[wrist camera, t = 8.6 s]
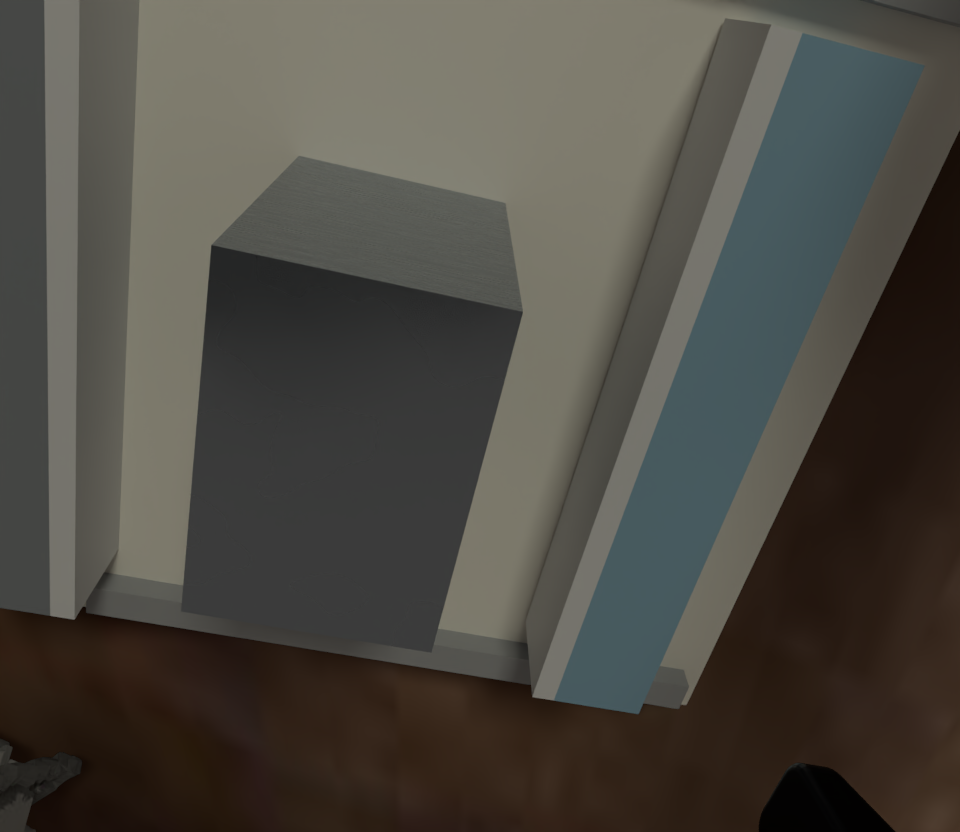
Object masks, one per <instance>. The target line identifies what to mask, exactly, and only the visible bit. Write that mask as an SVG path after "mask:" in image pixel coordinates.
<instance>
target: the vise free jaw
mask: <svg viewBox="0 0 960 832" xmlns="http://www.w3.org/2000/svg"><path fill="white" fill-rule="evenodd" d="M924 67H925V65H921V64H918V63H914V62H910V61H906V60H902V59H899V58H895V57H891V56H887V55H884V54H880V53H876V52H872V51H869V50H865V49H861V48H857V47H854V46H850V45H846V44H842V43H838V42H835V41H831V40H827V39H823V38H820V37H816V36H812V35H808V34H805V33H801V32H797V31H793V30H790V29H786V28H782V27H778V26H774V25H770V24H763V23H756V22H749V21H742V20H735V19H727V18H725V20H724V23H723V26H722V29H721V32H720V35H719V39H718V42H717V45H716V48H715V51H714V54H713V57H712V60H711V63H710V66H709V69H708V72H707V75H706V78H705V81H704V84H703V87H702V90H701V93H700V96H699V99H698V102H697V105H696V108H695V111H694V114H693V117H692V120H691V123H690V126H689V129H688V132H687V135H686V138H685V141H684V144H683V147H682V150H681V153H680V156H679V159H678V162H677V165H676V168H675V171H674V174H673V177H672V180H671V183H670V186H669V189H668V192H667V196H666V199H665V202H664V205H663V208H662V211H661V214H660V217H659V220H658V223H657V226H656V229H655V232H654V235H653V238H652V241H651V244H650V247H649V250H648V253H647V256H646V259H645V262H644V265H643V268H642V271H641V274H640V277H639V280H638V283H637V286H636V289H635V292H634V295H633V298H632V301H631V304H630V307H629V310H628V313H627V316H626V319H625V322H624V325H623V328H622V331H621V334H620V337H619V340H618V343H617V346H616V349H615V352H614V356H613V359H612V362H611V365H610V368H609V371H608V374H607V377H606V380H605V383H604V386H603V389H602V392H601V395H600V398H599V401H598V404H597V407H596V410H595V413H594V416H593V419H592V422H591V425H590V428H589V431H588V434H587V437H586V440H585V443H584V446H583V449H582V452H581V455H580V458H579V461H578V464H577V467H576V470H575V473H574V476H573V479H572V482H571V485H570V488H569V491H568V494H567V497H566V500H565V503H564V506H563V509H562V513H561V516H560V519H559V522H558V525H557V528H556V531H555V534H554V537H553V540H552V543H551V546H550V549H549V552H548V555H547V558H546V561H545V564H544V567H543V570H542V573H541V576H540V579H539V582H538V585H537V588H536V591H535V594H534V597H533V600H532V603H531V606H530V609H529V612H528V615H527V618H526V632H527V643H528V654H529V666H530V677H531V688H532V697H535V698H541V699H548V700H554V701H560V702H566V703H572V704H579V705H585V706H591V707H597V708H603V709H610V710H616V711H622V712H628V713H635V714H639V712H640V710H641V707H642V705H643V703H644V701H645V698H646V696H647V694H648V692H649V689H650V687H651V685H652V683H653V680H654V678H655V676H656V673H657V671H658V669H659V667H660V664H661V662H662V660H663V658H664V655H665V653H666V651H667V649H668V646H669V644H670V642H671V639H672V637H673V635H674V633H675V630H676V628H677V626H678V624H679V621H680V619H681V617H682V615H683V612H684V610H685V608H686V606H687V603H688V601H689V599H690V596H691V594H692V592H693V590H694V587H695V585H696V583H697V581H698V578H699V576H700V574H701V572H702V569H703V567H704V565H705V563H706V560H707V558H708V556H709V553H710V551H711V549H712V547H713V544H714V542H715V540H716V538H717V535H718V533H719V531H720V529H721V526H722V524H723V522H724V519H725V517H726V515H727V513H728V510H729V508H730V506H731V504H732V501H733V499H734V497H735V495H736V492H737V490H738V488H739V486H740V483H741V481H742V479H743V476H744V474H745V472H746V470H747V467H748V465H749V463H750V461H751V458H752V456H753V454H754V452H755V449H756V447H757V445H758V443H759V440H760V438H761V436H762V433H763V431H764V429H765V427H766V424H767V422H768V420H769V418H770V415H771V413H772V411H773V409H774V406H775V404H776V402H777V399H778V397H779V395H780V393H781V390H782V388H783V386H784V384H785V381H786V379H787V377H788V375H789V372H790V370H791V368H792V366H793V363H794V361H795V359H796V356H797V354H798V352H799V350H800V347H801V345H802V343H803V341H804V338H805V336H806V334H807V332H808V329H809V327H810V325H811V323H812V320H813V318H814V316H815V313H816V311H817V309H818V307H819V304H820V302H821V300H822V298H823V295H824V293H825V291H826V289H827V286H828V284H829V282H830V279H831V277H832V275H833V273H834V270H835V268H836V266H837V264H838V261H839V259H840V257H841V255H842V252H843V250H844V248H845V246H846V243H847V241H848V239H849V236H850V234H851V232H852V230H853V227H854V225H855V223H856V221H857V218H858V216H859V214H860V212H861V209H862V207H863V205H864V203H865V200H866V198H867V196H868V193H869V191H870V189H871V187H872V184H873V182H874V180H875V178H876V175H877V173H878V171H879V169H880V166H881V164H882V162H883V160H884V157H885V155H886V153H887V150H888V148H889V146H890V144H891V141H892V139H893V137H894V135H895V132H896V130H897V128H898V126H899V123H900V121H901V119H902V116H903V114H904V112H905V110H906V107H907V105H908V103H909V101H910V98H911V96H912V94H913V92H914V89H915V87H916V85H917V83H918V80H919V78H920V76H921V73H922V71H923V69H924Z"/></svg>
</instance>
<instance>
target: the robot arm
mask: <svg viewBox="0 0 960 832" xmlns="http://www.w3.org/2000/svg"><path fill="white" fill-rule="evenodd" d="M759 832H895V831H894V830H893V829H892V828H891V827H890V826H889V825H888V824H887V823H886V822H885V821H884V820H883V819H882V817H881V816H880V815H879V814H878V813H877V812H876V811H875V810H874V809H873V808H872V807H871V806H870V805H869V804H868V803H867V802H866V801H865V800H864V799H863V798H862V797H861V796H860V795H859V794H858V793H857V792H856V791H855V790H854V789H853V788H852V787H851V786H850V785H849V784H848V783H847V781H846V780H845V779H844V778H843V777H842V776H841V775H839V774H838V773H837V772H836V771H834V770H833V769H830V768H828V767H822V766H816V765H810V764H804V763H795V764H793V765H792V766H790V767H789V768H788V769H787V770H786V772H785V773H784V775H783V777H782V778H781V780H780V782H779V783H778V785H777V787H776V789H775V790H774V792H773V794H772V795H771V797H770V799H769V800H768V802H767V804H766V805H765V807H764V809H763V811H762V813H761V817H760V821H759Z"/></svg>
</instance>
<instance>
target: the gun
mask: <svg viewBox="0 0 960 832" xmlns="http://www.w3.org/2000/svg"><path fill="white" fill-rule="evenodd" d="M9 745H10V743H9V742H7V741H5V740H2V739H0V832H36V830H34V829H31V828H30V826H27V825H26V822H27V819H28V815H29V811H30V808H31V805H33V804H34V803H36V802H37V801H39V800H40V799H42V798H44V797H45V796H47V795H48V794H50V793H52V792H53V791H55V790H56V789H57V788H58V787H59V786H60V785H61V784H62V783H63V782H64V781H66V780H68V779H70V778H72V777H74V776H76V775H78V774H80V772H81V766H82V761H81V759H79V758H77V757H75V756H73V755H72V756H70V755H68V754H66V753H64V752H63V753H61V752H59V753H58V754H56V755H55V756H54V757H53V758H49V757H41V758H37V759H34V760H31V761H28V762H26V763H20V762H16V761H14V760H12V759H11V760H9V758H10V755H11V752H12V748H13V747H11V746H9Z"/></svg>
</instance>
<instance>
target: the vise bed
mask: <svg viewBox="0 0 960 832" xmlns="http://www.w3.org/2000/svg"><path fill="white" fill-rule="evenodd" d="M725 18H727V19H735V20H742V21H749V22H756V23H763V24H770V25H774V26H778V27H782V28H786V29H790V30H793V31H797V32H801V33H805V34H808V35H812V36H816V37H820V38H823V39H827V40H831V41H835V42H838V43H842V44H846V45H850V46H854V47H857V48H861V49H865V50H869V51H872V52H876V53H880V54H884V55H887V56H891V57H895V58H899V59H902V60H906V61H910V62H914V63H918V64H921V65H925V67H924V69H923V71H922V73H921V76H920V78H919V80H918V83H917V85H916V87H915V89H914V92H913V94H912V96H911V98H910V101H909V103H908V105H907V107H906V110H905V112H904V114H903V116H902V119H901V121H900V123H899V126H898V128H897V130H896V132H895V135H894V137H893V139H892V141H891V144H890V146H889V148H888V150H887V153H886V155H885V157H884V160H883V162H882V164H881V166H880V169H879V171H878V173H877V175H876V178H875V180H874V182H873V184H872V187H871V189H870V191H869V193H868V196H867V198H866V200H865V203H864V205H863V207H862V209H861V212H860V214H859V216H858V218H857V221H856V223H855V225H854V227H853V230H852V232H851V234H850V236H849V239H848V241H847V243H846V246H845V248H844V250H843V252H842V255H841V257H840V259H839V261H838V264H837V266H836V268H835V270H834V273H833V275H832V277H831V279H830V282H829V284H828V286H827V289H826V291H825V293H824V295H823V298H822V300H821V302H820V304H819V307H818V309H817V311H816V313H815V316H814V318H813V320H812V323H811V325H810V327H809V329H808V332H807V334H806V336H805V338H804V341H803V343H802V345H801V347H800V350H799V352H798V354H797V356H796V359H795V361H794V363H793V366H792V368H791V370H790V372H789V375H788V377H787V379H786V381H785V384H784V386H783V388H782V390H781V393H780V395H779V397H778V399H777V402H776V404H775V406H774V409H773V411H772V413H771V415H770V418H769V420H768V422H767V424H766V427H765V429H764V431H763V433H762V436H761V438H760V440H759V443H758V445H757V447H756V449H755V452H754V454H753V456H752V458H751V461H750V463H749V465H748V467H747V470H746V472H745V474H744V476H743V479H742V481H741V483H740V486H739V488H738V490H737V492H736V495H735V497H734V499H733V501H732V504H731V506H730V508H729V510H728V513H727V515H726V517H725V519H724V522H723V524H722V526H721V529H720V531H719V533H718V535H717V538H716V540H715V542H714V544H713V547H712V549H711V551H710V553H709V556H708V558H707V560H706V563H705V565H704V567H703V569H702V572H701V574H700V576H699V578H698V581H697V583H696V585H695V587H694V590H693V592H692V594H691V596H690V599H689V601H688V603H687V606H686V608H685V610H684V612H683V615H682V617H681V619H680V621H679V624H678V626H677V628H676V630H675V633H674V635H673V637H672V639H671V642H670V644H669V646H668V649H667V651H666V653H665V655H664V658H663V660H662V662H661V664H660V667H659V669H658V671H657V673H656V676H655V678H654V680H653V683H652V685H651V687H650V689H649V692H648V694H647V696H646V698H645V701H644V704H650V705H656V706H662V707H668V708H675V709H679V708H680V705H681V704H682V705H687V703H688V701H689V699H690V697H691V694H692V692H693V690H694V688H695V686H696V684H697V682H698V680H699V678H700V676H701V673H702V671H703V669H704V667H705V665H706V663H707V661H708V659H709V657H710V654H711V652H712V650H713V648H714V646H715V644H716V642H717V640H718V638H719V636H720V633H721V631H722V629H723V627H724V625H725V623H726V621H727V619H728V617H729V614H730V612H731V610H732V608H733V606H734V604H735V602H736V600H737V598H738V596H739V593H740V591H741V589H742V587H743V585H744V583H745V581H746V579H747V577H748V575H749V572H750V570H751V568H752V566H753V564H754V562H755V560H756V558H757V556H758V553H759V551H760V549H761V547H762V545H763V543H764V541H765V539H766V537H767V535H768V532H769V530H770V528H771V526H772V524H773V522H774V520H775V518H776V516H777V513H778V511H779V509H780V507H781V505H782V503H783V501H784V499H785V497H786V495H787V492H788V490H789V488H790V486H791V484H792V482H793V480H794V478H795V476H796V473H797V471H798V469H799V467H800V465H801V463H802V461H803V459H804V457H805V455H806V452H807V450H808V448H809V446H810V444H811V442H812V440H813V438H814V436H815V434H816V431H817V429H818V427H819V425H820V423H821V421H822V419H823V417H824V415H825V412H826V410H827V408H828V406H829V404H830V402H831V400H832V398H833V396H834V394H835V391H836V389H837V387H838V385H839V383H840V381H841V379H842V377H843V375H844V372H845V370H846V368H847V366H848V364H849V362H850V360H851V358H852V356H853V354H854V351H855V349H856V347H857V345H858V343H859V341H860V339H861V337H862V335H863V333H864V330H865V328H866V326H867V324H868V322H869V320H870V318H871V316H872V314H873V311H874V309H875V307H876V305H877V303H878V301H879V299H880V297H881V295H882V293H883V290H884V288H885V286H886V284H887V282H888V280H889V278H890V276H891V274H892V271H893V269H894V267H895V265H896V263H897V261H898V259H899V257H900V255H901V253H902V250H903V248H904V246H905V244H906V242H907V240H908V238H909V236H910V234H911V231H912V229H913V227H914V225H915V223H916V221H917V219H918V217H919V215H920V213H921V210H922V208H923V206H924V204H925V202H926V200H927V198H928V196H929V194H930V192H931V189H932V187H933V185H934V183H935V181H936V179H937V177H938V175H939V173H940V170H941V168H942V166H943V164H944V162H945V160H946V158H947V156H948V154H949V152H950V149H951V147H952V145H953V143H954V141H955V139H956V137H957V135H958V133H959V130H960V0H0V608H5V609H11V610H17V611H24V612H30V613H36V614H42V615H48V616H54V617H61V618H67V619H73V620H75V618H76V617H77V615H78V613H79V612H80V610H81V609H82V607H86V613H91V614H97V615H103V616H109V617H115V618H122V619H128V620H134V621H140V622H146V623H152V624H158V625H165V626H171V627H177V628H183V629H189V630H195V631H201V632H208V633H214V634H220V635H226V636H232V637H238V638H244V639H251V640H257V641H263V642H269V643H275V644H281V645H288V646H294V647H300V648H306V649H312V650H318V651H324V652H331V653H337V654H343V655H349V656H355V657H361V658H367V659H374V660H380V661H386V662H392V663H398V664H404V665H410V666H417V667H423V668H429V669H435V670H441V671H447V672H453V673H460V674H466V675H472V676H478V677H484V678H490V679H496V680H503V681H509V682H515V683H521V684H527V685H531V677H530V666H529V654H528V643H527V632H526V618H527V615H528V612H529V609H530V606H531V603H532V600H533V597H534V594H535V591H536V588H537V585H538V582H539V579H540V576H541V573H542V570H543V567H544V564H545V561H546V558H547V555H548V552H549V549H550V546H551V543H552V540H553V537H554V534H555V531H556V528H557V525H558V522H559V519H560V516H561V513H562V509H563V506H564V503H565V500H566V497H567V494H568V491H569V488H570V485H571V482H572V479H573V476H574V473H575V470H576V467H577V464H578V461H579V458H580V455H581V452H582V449H583V446H584V443H585V440H586V437H587V434H588V431H589V428H590V425H591V422H592V419H593V416H594V413H595V410H596V407H597V404H598V401H599V398H600V395H601V392H602V389H603V386H604V383H605V380H606V377H607V374H608V371H609V368H610V365H611V362H612V359H613V356H614V352H615V349H616V346H617V343H618V340H619V337H620V334H621V331H622V328H623V325H624V322H625V319H626V316H627V313H628V310H629V307H630V304H631V301H632V298H633V295H634V292H635V289H636V286H637V283H638V280H639V277H640V274H641V271H642V268H643V265H644V262H645V259H646V256H647V253H648V250H649V247H650V244H651V241H652V238H653V235H654V232H655V229H656V226H657V223H658V220H659V217H660V214H661V211H662V208H663V205H664V202H665V199H666V196H667V192H668V189H669V186H670V183H671V180H672V177H673V174H674V171H675V168H676V165H677V162H678V159H679V156H680V153H681V150H682V147H683V144H684V141H685V138H686V135H687V132H688V129H689V126H690V123H691V120H692V117H693V114H694V111H695V108H696V105H697V102H698V99H699V96H700V93H701V90H702V87H703V84H704V81H705V78H706V75H707V72H708V69H709V66H710V63H711V60H712V57H713V54H714V51H715V48H716V45H717V42H718V39H719V35H720V32H721V29H722V26H723V23H724V20H725ZM298 156H303V157H307V158H312V159H316V160H320V161H325V162H329V163H333V164H338V165H342V166H346V167H351V168H355V169H360V170H364V171H368V172H373V173H377V174H381V175H386V176H390V177H394V178H399V179H403V180H407V181H412V182H416V183H421V184H425V185H429V186H434V187H438V188H442V189H447V190H451V191H455V192H460V193H464V194H468V195H473V196H477V197H482V198H486V199H490V200H495V201H499V202H503V203H505V204H506V210H507V216H508V222H509V228H510V234H511V241H512V247H513V253H514V259H515V265H516V271H517V277H518V283H519V290H520V296H521V302H522V308H523V314H522V318H521V322H520V326H519V329H518V333H517V337H516V340H515V344H514V348H513V352H512V355H511V359H510V363H509V366H508V370H507V374H506V378H505V381H504V385H503V389H502V392H501V396H500V400H499V404H498V407H497V411H496V415H495V419H494V422H493V426H492V430H491V433H490V437H489V441H488V445H487V448H486V452H485V456H484V459H483V463H482V467H481V471H480V474H479V478H478V482H477V485H476V489H475V493H474V497H473V500H472V504H471V508H470V512H469V515H468V519H467V523H466V526H465V530H464V534H463V538H462V541H461V545H460V549H459V552H458V556H457V560H456V564H455V567H454V571H453V575H452V578H451V582H450V586H449V590H448V593H447V597H446V601H445V605H444V608H443V612H442V616H441V619H440V623H439V627H438V631H437V634H436V638H435V642H434V645H433V649H432V653H430V652H424V651H417V650H411V649H405V648H399V647H393V646H387V645H381V644H375V643H369V642H363V641H357V640H351V639H344V638H338V637H332V636H326V635H320V634H314V633H308V632H302V631H296V630H290V629H284V628H278V627H271V626H265V625H259V624H253V623H247V622H241V621H235V620H229V619H223V618H217V617H211V616H205V615H198V614H192V613H186V612H181V606H182V594H183V582H184V570H185V557H186V545H187V533H188V521H189V509H190V497H191V485H192V473H193V461H194V449H195V436H196V424H197V412H198V400H199V388H200V376H201V364H202V352H203V340H204V327H205V315H206V303H207V291H208V279H209V267H210V255H211V245H212V244H213V243H214V242H215V241H216V240H217V239H218V238H219V237H220V236H221V235H222V234H223V233H224V232H225V231H226V229H227V228H228V227H229V226H230V225H231V224H232V223H233V222H234V221H235V220H236V219H237V218H238V217H239V216H240V215H241V214H242V213H243V212H244V211H245V210H246V209H247V208H248V207H249V206H250V205H251V204H252V203H253V202H254V201H255V200H256V199H257V198H258V197H259V196H260V195H261V194H262V193H263V192H264V191H265V190H266V189H267V188H268V187H269V186H270V185H271V184H272V183H273V182H274V181H275V180H276V179H277V178H278V177H279V176H280V175H281V173H282V172H283V171H284V170H285V169H286V168H287V167H288V166H289V165H290V164H291V163H292V162H293V161H294V160H295V159H296V158H297V157H298Z"/></svg>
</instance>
